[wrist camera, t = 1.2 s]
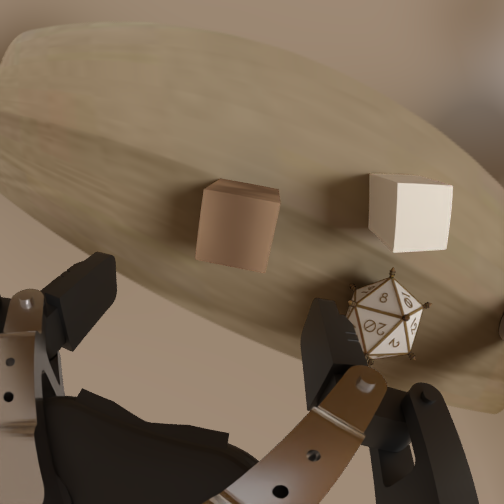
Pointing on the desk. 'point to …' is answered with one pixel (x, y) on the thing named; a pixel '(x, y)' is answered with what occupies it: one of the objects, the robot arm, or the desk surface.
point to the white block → (409, 211)
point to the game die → (385, 318)
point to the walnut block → (237, 224)
